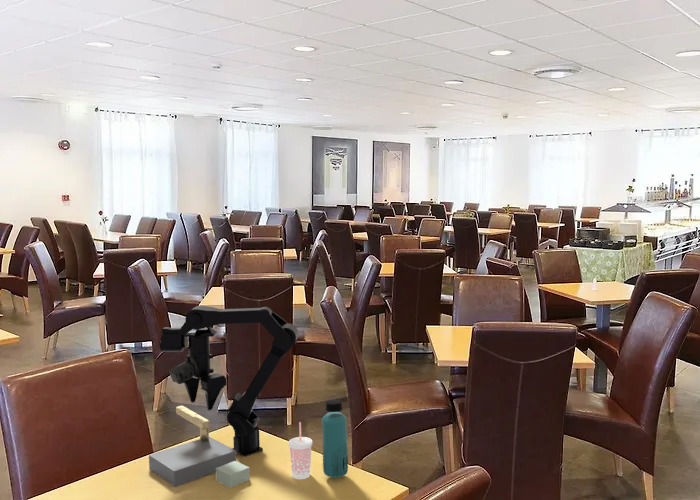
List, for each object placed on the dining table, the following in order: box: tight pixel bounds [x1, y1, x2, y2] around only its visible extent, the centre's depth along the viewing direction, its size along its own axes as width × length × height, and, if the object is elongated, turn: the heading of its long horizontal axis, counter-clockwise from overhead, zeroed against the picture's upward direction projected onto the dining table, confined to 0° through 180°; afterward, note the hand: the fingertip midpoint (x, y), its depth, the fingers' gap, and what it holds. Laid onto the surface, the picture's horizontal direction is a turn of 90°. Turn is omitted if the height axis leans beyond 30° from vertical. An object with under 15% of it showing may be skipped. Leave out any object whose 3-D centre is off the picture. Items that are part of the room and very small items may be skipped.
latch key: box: [175, 405, 210, 441], centre depth 182 cm, size 17×2×6 cm, turn 40°
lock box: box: [148, 436, 237, 487], centre depth 168 cm, size 18×14×4 cm
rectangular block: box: [215, 460, 251, 488], centre depth 160 cm, size 6×6×4 cm
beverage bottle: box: [321, 399, 349, 478], centre depth 160 cm, size 6×7×20 cm
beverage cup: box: [288, 421, 313, 480], centre depth 162 cm, size 6×6×14 cm
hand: (201, 405), depth 178 cm, fingers open, 9 cm apart
